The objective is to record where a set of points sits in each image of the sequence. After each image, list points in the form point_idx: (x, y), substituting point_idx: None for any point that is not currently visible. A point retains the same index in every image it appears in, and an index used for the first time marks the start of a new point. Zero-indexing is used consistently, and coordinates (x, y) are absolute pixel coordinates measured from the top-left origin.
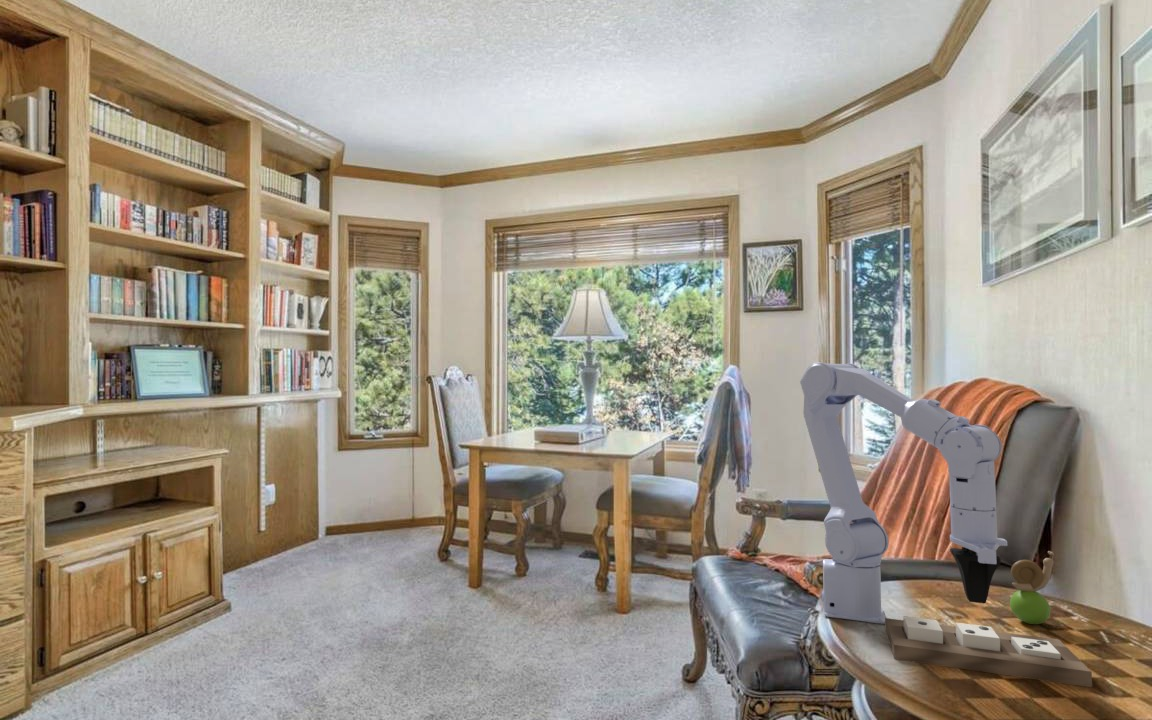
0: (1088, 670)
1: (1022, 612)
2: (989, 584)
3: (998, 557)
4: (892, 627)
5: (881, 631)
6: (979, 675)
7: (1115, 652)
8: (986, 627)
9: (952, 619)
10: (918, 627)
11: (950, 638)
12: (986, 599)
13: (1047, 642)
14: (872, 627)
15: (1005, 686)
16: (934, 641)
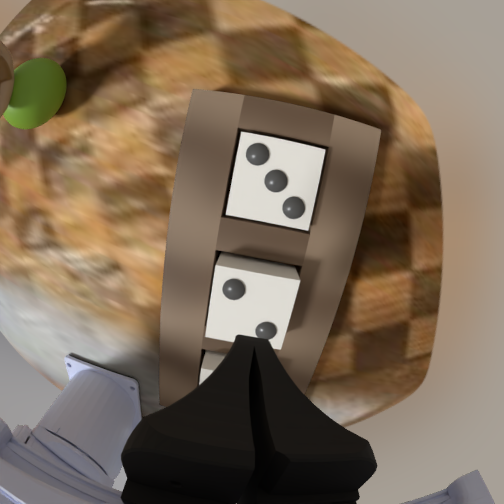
0: (375, 131)
1: (50, 113)
2: (292, 380)
3: (327, 463)
4: None
5: None
6: (341, 317)
7: (179, 3)
8: (228, 281)
9: (62, 247)
10: None
11: None
12: (270, 344)
13: (252, 139)
14: (157, 399)
15: (379, 292)
16: None
